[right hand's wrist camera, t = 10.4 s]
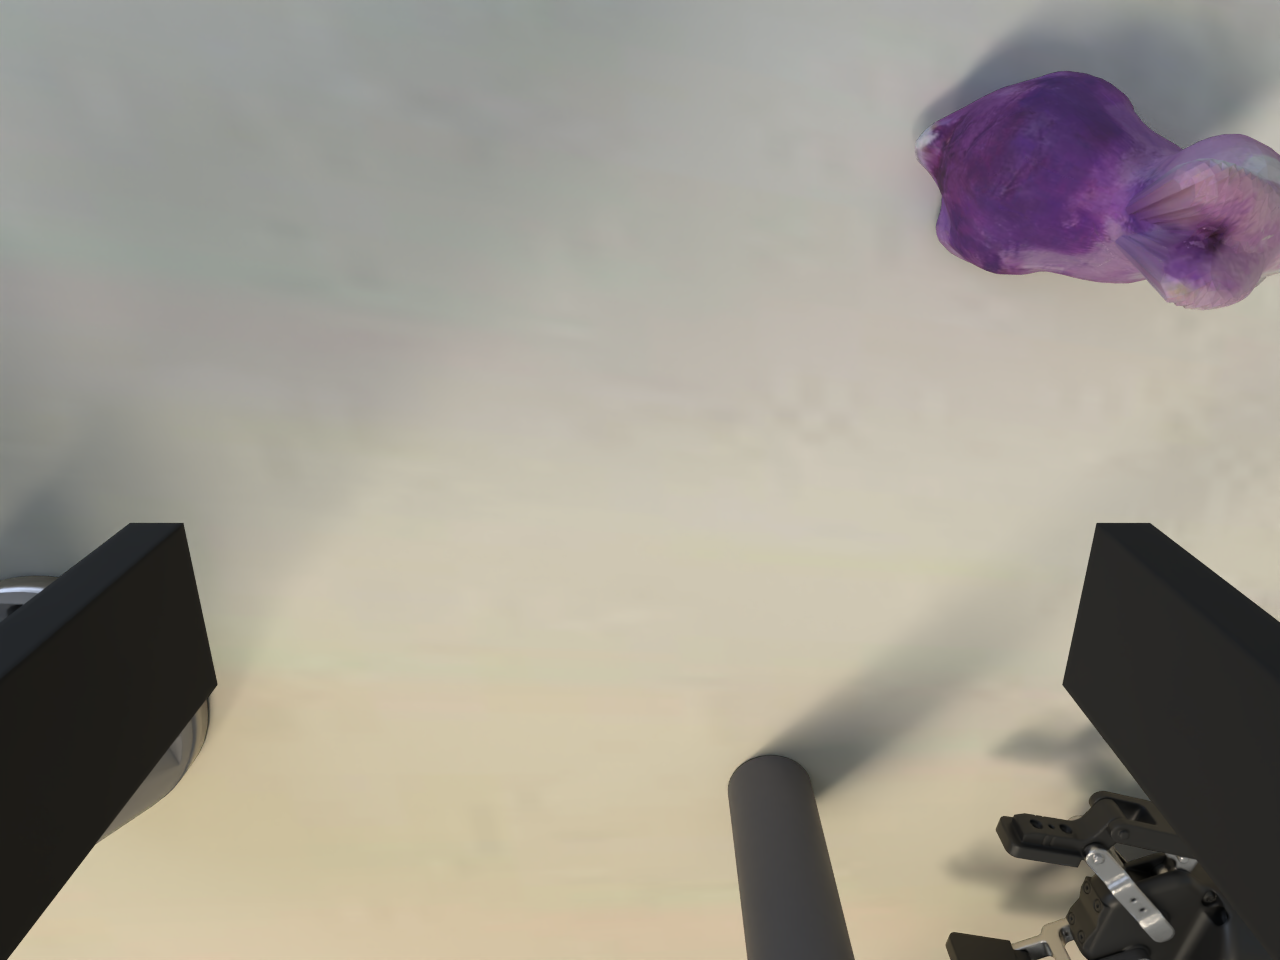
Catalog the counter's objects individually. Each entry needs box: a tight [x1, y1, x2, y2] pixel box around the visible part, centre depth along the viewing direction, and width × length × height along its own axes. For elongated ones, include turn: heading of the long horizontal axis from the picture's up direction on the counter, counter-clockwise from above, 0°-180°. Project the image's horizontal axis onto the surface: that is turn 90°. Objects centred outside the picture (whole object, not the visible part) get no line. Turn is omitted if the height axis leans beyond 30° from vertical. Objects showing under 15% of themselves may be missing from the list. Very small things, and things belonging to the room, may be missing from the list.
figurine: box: [915, 71, 1280, 310], centre depth 32 cm, size 9×10×15 cm
